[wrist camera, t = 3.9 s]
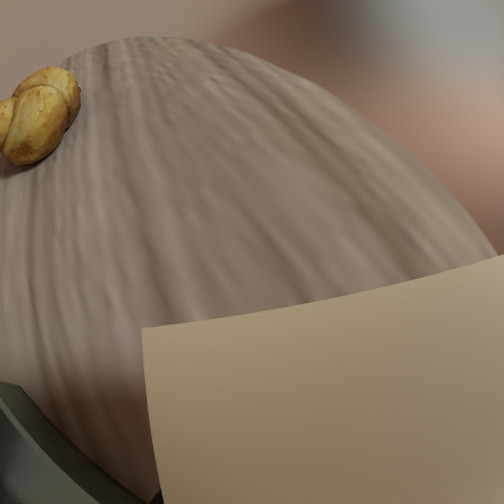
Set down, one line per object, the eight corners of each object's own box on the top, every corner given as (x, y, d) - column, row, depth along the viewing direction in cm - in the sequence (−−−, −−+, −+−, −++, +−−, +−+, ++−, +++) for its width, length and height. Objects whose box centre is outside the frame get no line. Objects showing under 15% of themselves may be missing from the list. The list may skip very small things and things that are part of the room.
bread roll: (54, 101, 29) (29, 55, 22) (111, 87, 27) (88, 30, 20) (0, 179, 23) (-40, 132, 16) (55, 172, 22) (8, 109, 15)
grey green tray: (147, 503, 11) (122, 520, 8) (90, 586, 7) (68, 601, 4) (19, 385, 14) (-13, 378, 11) (-14, 482, 10) (-41, 483, 7)
